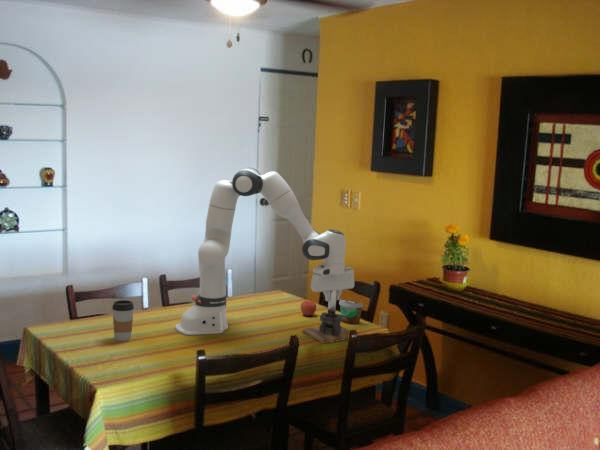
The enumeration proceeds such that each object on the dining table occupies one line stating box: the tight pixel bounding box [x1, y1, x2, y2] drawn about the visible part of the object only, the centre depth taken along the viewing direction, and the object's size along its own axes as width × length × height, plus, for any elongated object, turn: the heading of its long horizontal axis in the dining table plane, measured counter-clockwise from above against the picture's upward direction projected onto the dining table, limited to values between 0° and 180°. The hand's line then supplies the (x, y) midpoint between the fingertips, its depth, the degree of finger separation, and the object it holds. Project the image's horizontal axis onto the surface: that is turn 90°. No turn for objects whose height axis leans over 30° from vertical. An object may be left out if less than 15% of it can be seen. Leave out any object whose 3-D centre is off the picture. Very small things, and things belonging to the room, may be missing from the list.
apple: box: [300, 300, 317, 317], centre depth 322 cm, size 7×7×8 cm
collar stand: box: [301, 311, 351, 344], centre depth 294 cm, size 18×16×8 cm
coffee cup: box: [111, 299, 135, 342], centre depth 275 cm, size 8×8×15 cm
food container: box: [338, 297, 364, 325], centre depth 315 cm, size 12×6×10 cm, turn 47°
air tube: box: [327, 290, 338, 318], centre depth 293 cm, size 3×3×16 cm
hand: (332, 300), depth 293 cm, fingers closed on air tube, 3 cm apart
